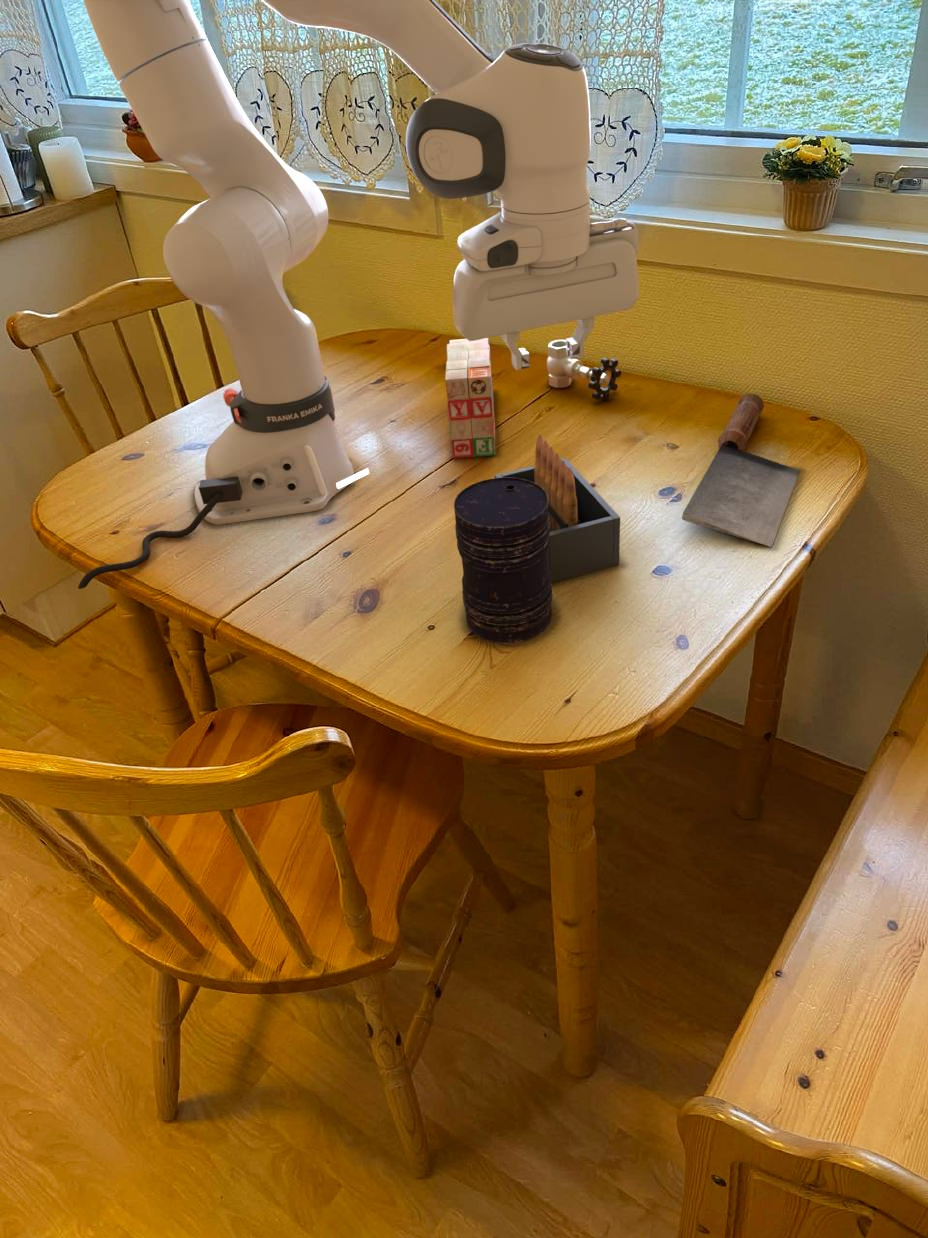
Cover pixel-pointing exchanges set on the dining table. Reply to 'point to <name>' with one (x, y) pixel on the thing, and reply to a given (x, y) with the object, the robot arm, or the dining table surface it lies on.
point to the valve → (579, 371)
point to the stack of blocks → (470, 398)
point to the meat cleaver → (742, 484)
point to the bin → (581, 532)
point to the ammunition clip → (556, 486)
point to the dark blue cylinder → (505, 558)
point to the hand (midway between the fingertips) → (548, 361)
